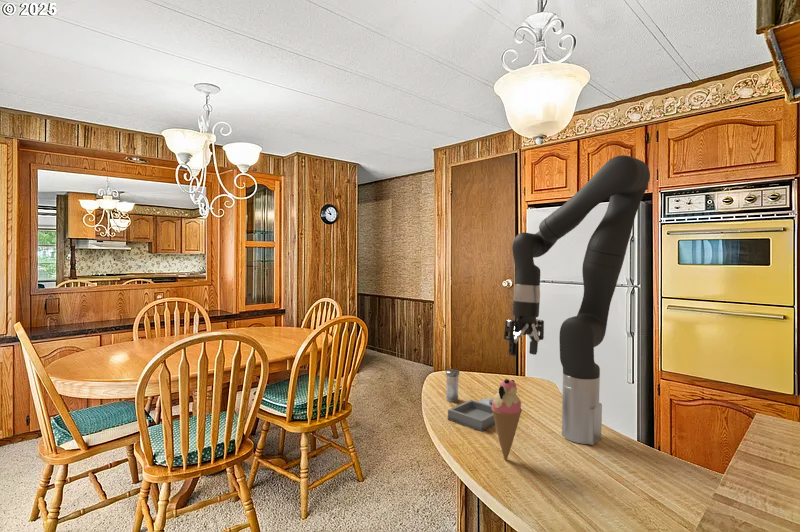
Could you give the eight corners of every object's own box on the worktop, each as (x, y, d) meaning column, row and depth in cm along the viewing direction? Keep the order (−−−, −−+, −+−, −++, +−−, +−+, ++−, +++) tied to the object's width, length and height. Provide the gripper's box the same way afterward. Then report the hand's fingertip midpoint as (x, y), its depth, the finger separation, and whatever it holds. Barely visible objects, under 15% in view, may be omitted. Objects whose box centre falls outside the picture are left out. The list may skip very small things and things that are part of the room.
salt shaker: (461, 400, 143) (462, 371, 143) (453, 403, 140) (453, 373, 139) (451, 396, 146) (451, 368, 146) (442, 400, 143) (442, 371, 143)
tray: (504, 419, 127) (504, 409, 127) (481, 431, 118) (481, 421, 118) (471, 408, 135) (471, 399, 135) (447, 419, 127) (447, 409, 127)
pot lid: (514, 408, 135) (515, 391, 135) (498, 417, 128) (498, 399, 128) (488, 400, 142) (488, 384, 142) (471, 408, 135) (471, 391, 135)
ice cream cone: (513, 470, 97) (514, 385, 97) (485, 461, 102) (485, 379, 101) (527, 457, 104) (528, 377, 103) (500, 448, 108) (500, 371, 107)
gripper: (519, 301, 118) (515, 358, 118) (552, 301, 126) (549, 356, 125) (499, 298, 125) (496, 353, 125) (533, 299, 132) (529, 351, 132)
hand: (523, 354), depth 125 cm, fingers open, 8 cm apart
